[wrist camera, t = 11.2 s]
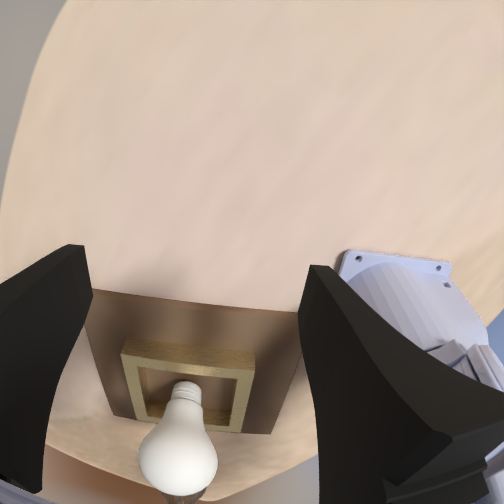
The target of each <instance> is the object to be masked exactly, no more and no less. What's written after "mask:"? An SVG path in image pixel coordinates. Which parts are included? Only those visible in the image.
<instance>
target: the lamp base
mask: <svg viewBox="0 0 504 504" xmlns="http://www.w3.org/2000/svg"><path fill="white" fill-rule="evenodd" d="M92 292H93V299H92V302H91V305H90V309H89V312H88V314H87V317H86V320H85V327H86V331H87V335H88V338H89V342H90V345H91V349H92V352H93V356H94V359H95V362H96V366H97V369H98V372H99V375H100V378H101V381H102V384H103V387H104V390H105V393H106V396H107V398H108V401H109V404H110V407H111V409H112V412H113V415H115V416H120V417H125V418H129V419H134V420H137V418H136V414H135V411H134V407H133V403H132V400H131V396H130V392H129V388H128V384H127V380H126V376H125V372H124V367H123V363H122V358H121V351H122V348H123V346H124V343H125V340H126V338H127V336H129V337H136V338H142V339H148V340H155V341H162V342H169V343H176V344H184V345H192V346H201V347H209V348H219V349H229V350H240V351H252V352H255V373H254V378H253V382H252V386H251V391H250V395H249V399H248V403H247V408H246V412H245V416H244V420H243V424H242V428H241V433H250V434H271V432H272V430H273V427H274V425H275V422H276V420H277V417H278V415H279V412H280V410H281V407H282V404H283V402H284V399H285V397H286V394H287V391H288V389H289V386H290V383H291V381H292V378H293V375H294V372H295V370H296V367H297V364H298V361H299V359H300V356H301V353H302V349H301V344H300V337H299V327H298V315H297V314H298V313H295V312H283V311H271V310H260V309H249V308H239V307H229V306H219V305H210V304H201V303H193V302H184V301H176V300H168V299H160V298H153V297H146V296H138V295H131V294H124V293H118V292H111V291H104V290H98V289H92ZM145 370H146V376H147V382H148V388H149V393H150V399H151V400H153V401H159V402H165V403H168V402H169V401H170V400H171V395H172V391H173V388H174V385H175V384H177V383H178V382H181V381H190V382H192V383H195V384H196V385H198V386H199V387H200V389H201V407H204V408H213V409H224V410H230V406H231V400H232V394H233V388H234V382H235V379H233V378H222V377H212V376H202V375H194V374H186V373H178V372H171V371H164V370H157V369H151V368H145ZM140 421H141V420H140ZM145 422H146V421H145ZM151 423H152V422H151ZM157 424H158V423H157ZM210 431H212V430H210ZM221 432H223V431H221ZM234 433H236V432H234Z"/></svg>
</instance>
